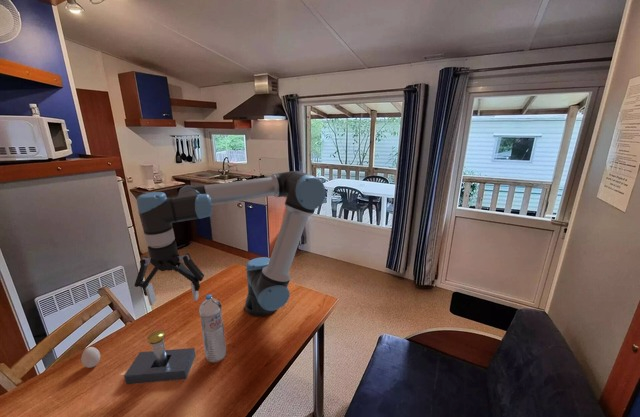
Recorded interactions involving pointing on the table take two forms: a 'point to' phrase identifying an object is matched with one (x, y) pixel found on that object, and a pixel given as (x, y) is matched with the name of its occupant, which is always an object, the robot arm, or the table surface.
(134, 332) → the table surface
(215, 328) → the water bottle
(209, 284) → the table surface
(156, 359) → the pin
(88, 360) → the egg
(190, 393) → the table surface
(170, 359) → the grey block with hole
